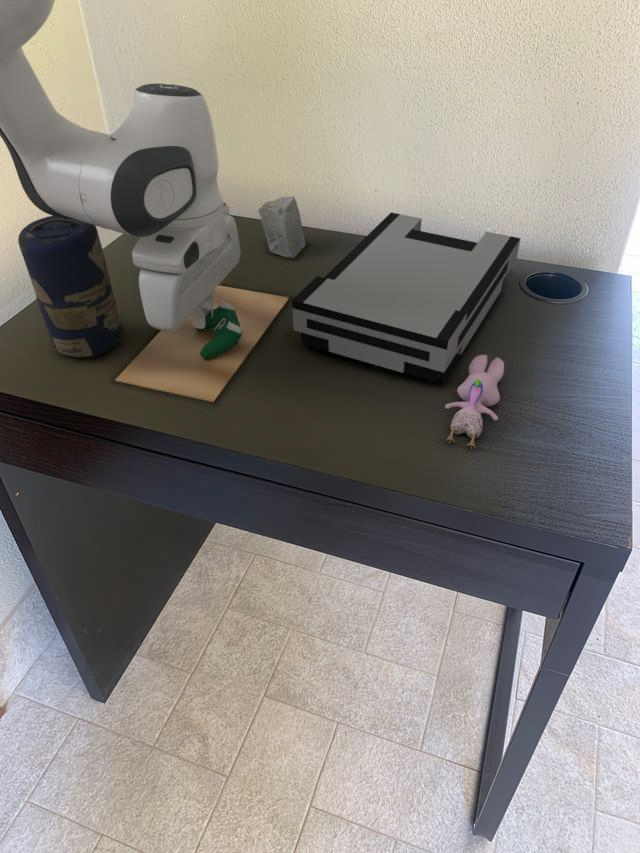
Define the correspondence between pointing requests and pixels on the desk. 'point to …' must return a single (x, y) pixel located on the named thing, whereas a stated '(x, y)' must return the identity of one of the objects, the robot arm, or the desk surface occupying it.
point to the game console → (405, 297)
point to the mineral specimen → (283, 226)
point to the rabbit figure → (476, 397)
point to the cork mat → (180, 351)
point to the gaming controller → (222, 331)
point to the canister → (71, 285)
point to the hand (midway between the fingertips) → (203, 323)
